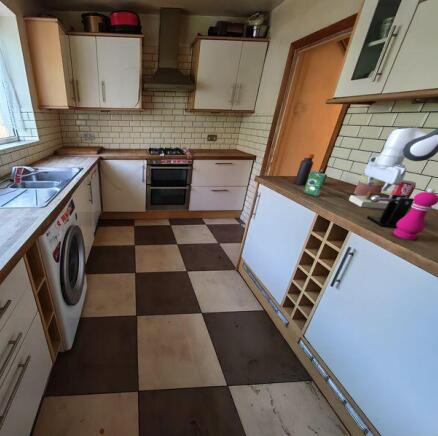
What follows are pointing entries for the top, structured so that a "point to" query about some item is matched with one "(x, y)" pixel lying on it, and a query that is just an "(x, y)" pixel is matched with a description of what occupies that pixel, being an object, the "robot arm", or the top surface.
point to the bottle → (304, 170)
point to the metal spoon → (383, 199)
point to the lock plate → (367, 202)
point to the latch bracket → (393, 212)
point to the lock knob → (371, 195)
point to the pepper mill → (416, 215)
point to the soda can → (404, 189)
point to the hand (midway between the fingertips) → (376, 188)
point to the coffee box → (315, 183)
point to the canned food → (364, 188)
